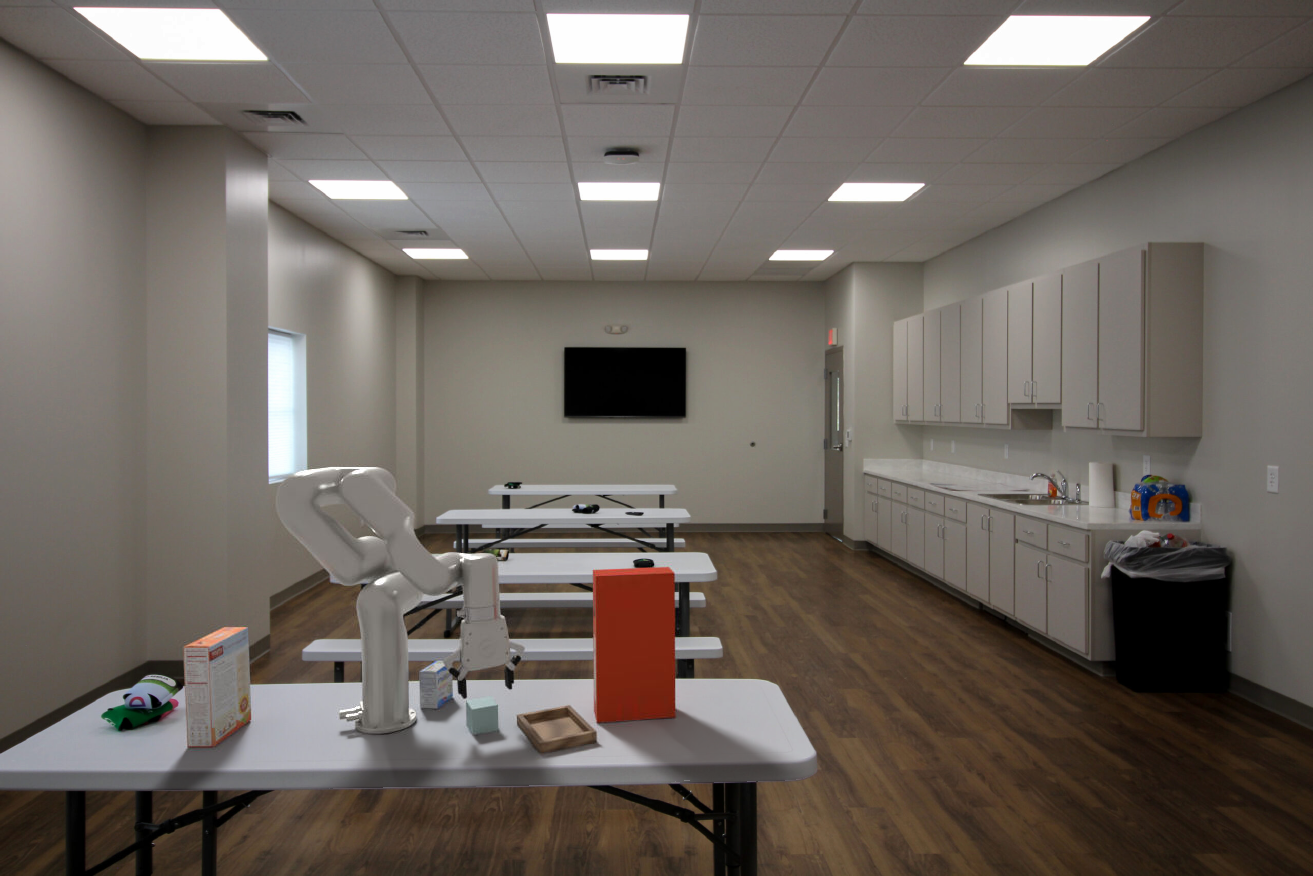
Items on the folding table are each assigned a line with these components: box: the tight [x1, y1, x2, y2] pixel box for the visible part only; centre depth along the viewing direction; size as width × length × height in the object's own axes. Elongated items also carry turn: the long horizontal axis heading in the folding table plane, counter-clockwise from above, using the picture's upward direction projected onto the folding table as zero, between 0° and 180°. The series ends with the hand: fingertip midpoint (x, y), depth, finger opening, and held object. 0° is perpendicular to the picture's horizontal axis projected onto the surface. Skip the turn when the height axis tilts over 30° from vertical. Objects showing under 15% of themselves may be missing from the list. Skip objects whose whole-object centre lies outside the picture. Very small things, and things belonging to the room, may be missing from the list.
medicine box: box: [418, 660, 454, 710], centre depth 178 cm, size 8×4×9 cm, turn 168°
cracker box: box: [182, 626, 252, 748], centre depth 161 cm, size 14×6×21 cm, turn 178°
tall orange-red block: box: [592, 566, 676, 724], centre depth 171 cm, size 8×17×32 cm, turn 100°
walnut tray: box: [516, 704, 598, 755], centre depth 161 cm, size 12×16×2 cm
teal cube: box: [465, 695, 499, 736], centre depth 164 cm, size 6×6×6 cm
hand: (486, 692), depth 164 cm, fingers open, 9 cm apart
